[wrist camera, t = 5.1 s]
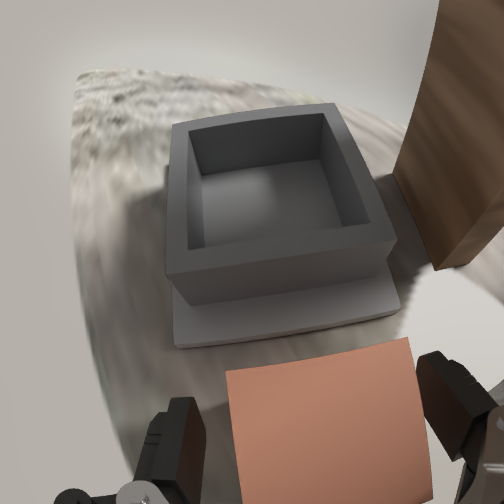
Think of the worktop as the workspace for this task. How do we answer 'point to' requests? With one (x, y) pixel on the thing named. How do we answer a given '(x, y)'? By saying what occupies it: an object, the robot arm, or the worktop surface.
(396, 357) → the peg
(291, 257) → the socket
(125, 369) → the worktop surface
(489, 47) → the wooden l-shaped bracket
